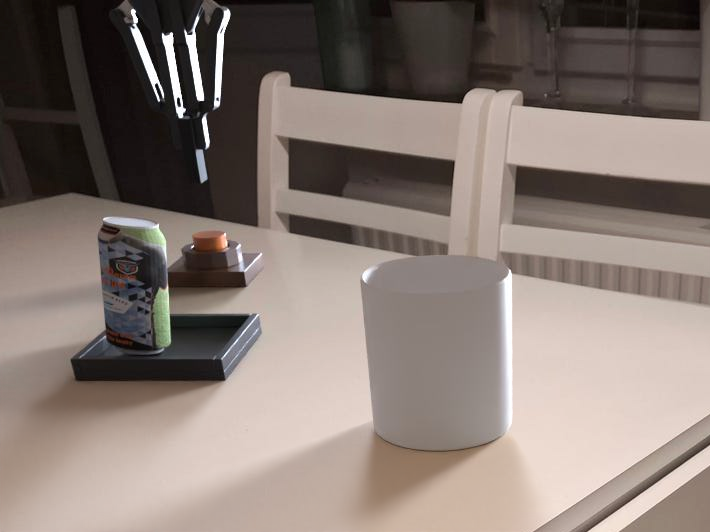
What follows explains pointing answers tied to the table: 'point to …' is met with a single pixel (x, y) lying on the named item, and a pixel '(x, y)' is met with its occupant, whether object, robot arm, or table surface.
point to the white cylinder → (439, 350)
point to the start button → (209, 241)
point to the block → (214, 267)
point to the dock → (176, 351)
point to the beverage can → (134, 285)
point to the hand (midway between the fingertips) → (198, 181)
